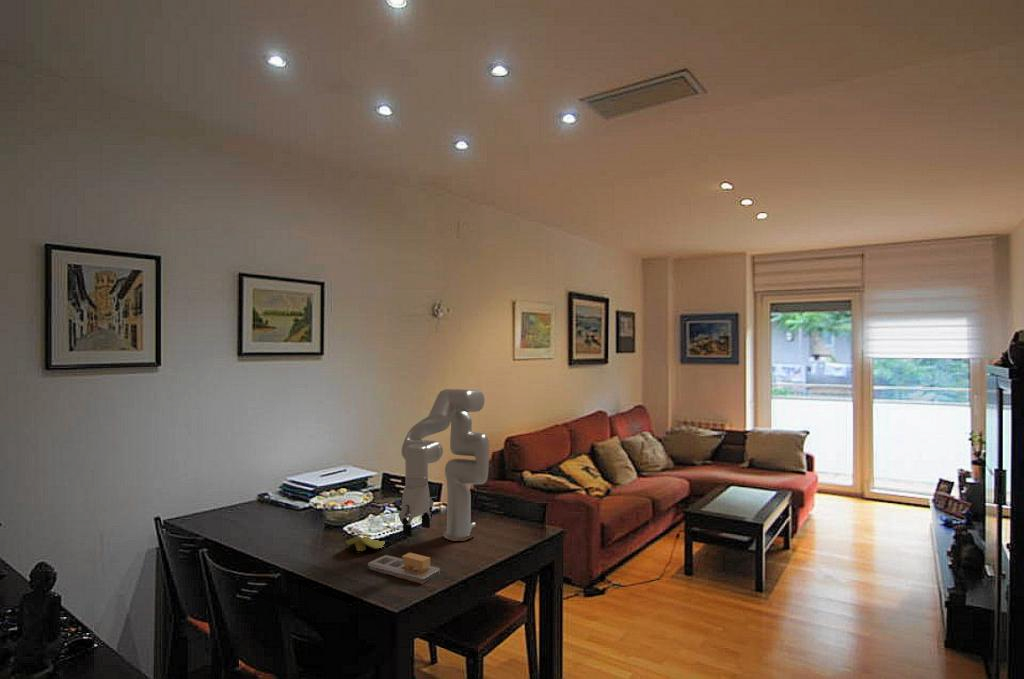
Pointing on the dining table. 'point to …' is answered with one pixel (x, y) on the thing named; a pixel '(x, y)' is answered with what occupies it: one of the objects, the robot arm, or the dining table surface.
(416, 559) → the tan rectangular block
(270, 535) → the dining table surface
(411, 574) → the grey slotted tray
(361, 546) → the banana bunch
